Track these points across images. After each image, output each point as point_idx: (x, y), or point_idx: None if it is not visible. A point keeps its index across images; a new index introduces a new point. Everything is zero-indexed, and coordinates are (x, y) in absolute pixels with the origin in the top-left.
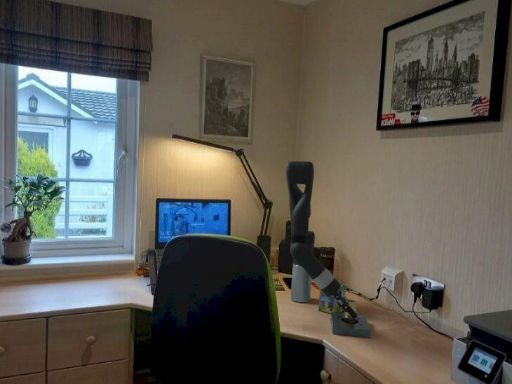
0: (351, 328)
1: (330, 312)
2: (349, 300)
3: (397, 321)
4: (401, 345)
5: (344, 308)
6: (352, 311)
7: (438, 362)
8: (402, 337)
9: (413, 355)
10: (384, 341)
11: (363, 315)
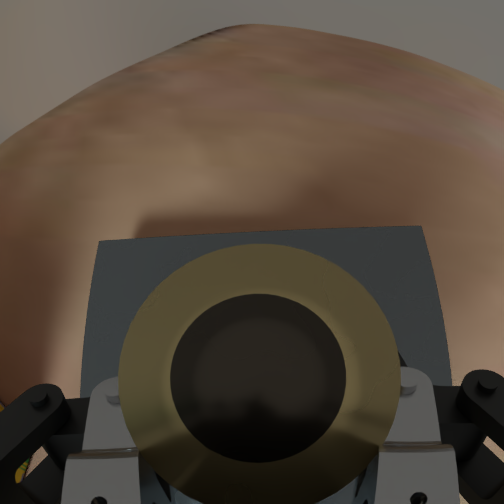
0: (450, 371)
1: (20, 476)
2: (224, 418)
3: (100, 117)
4: (408, 128)
5: (471, 473)
6: (402, 358)
7: (463, 80)
8: (306, 108)
9: (468, 119)
10: (407, 184)
11: (99, 252)
